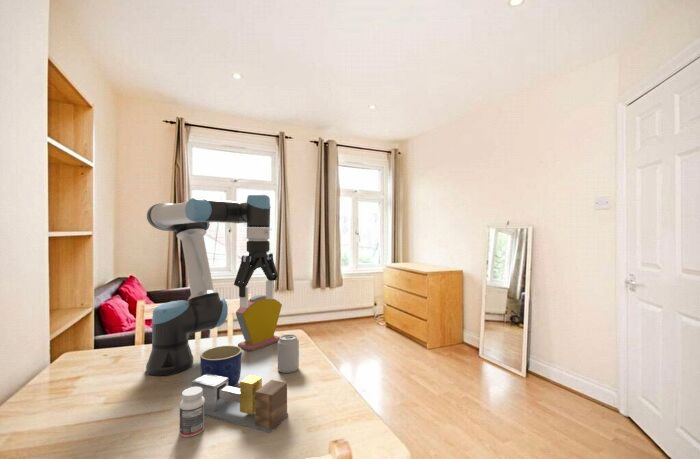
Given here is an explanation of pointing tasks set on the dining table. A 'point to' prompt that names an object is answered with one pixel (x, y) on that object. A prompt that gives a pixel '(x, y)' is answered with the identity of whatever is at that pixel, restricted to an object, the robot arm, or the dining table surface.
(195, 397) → the pill bottle
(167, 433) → the dining table surface
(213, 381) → the sleeve
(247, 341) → the yellow fan-shaped sign
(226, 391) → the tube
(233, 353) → the planter
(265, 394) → the socket
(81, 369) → the dining table surface
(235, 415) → the board
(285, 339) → the can
